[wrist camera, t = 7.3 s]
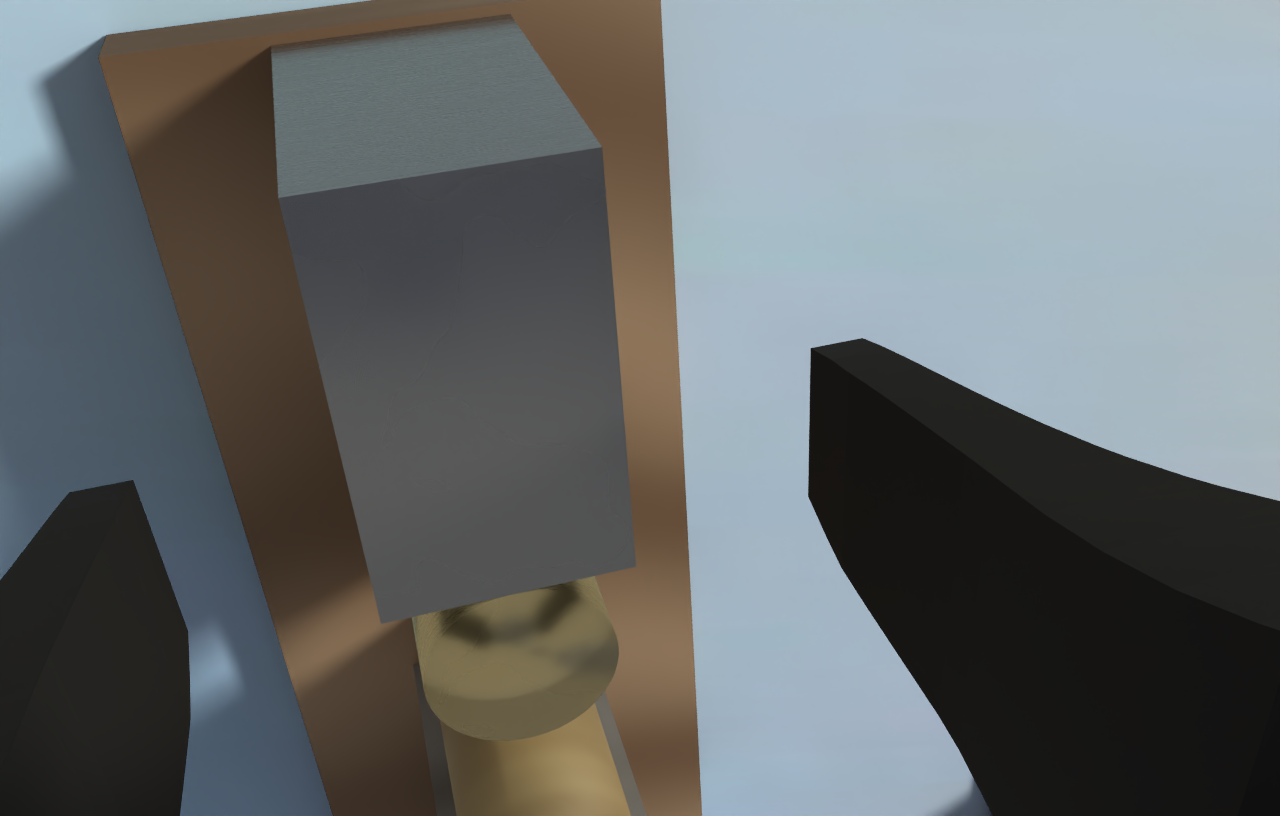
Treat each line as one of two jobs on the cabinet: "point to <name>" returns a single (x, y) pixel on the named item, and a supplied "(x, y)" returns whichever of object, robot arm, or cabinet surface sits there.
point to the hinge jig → (306, 442)
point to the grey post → (465, 353)
